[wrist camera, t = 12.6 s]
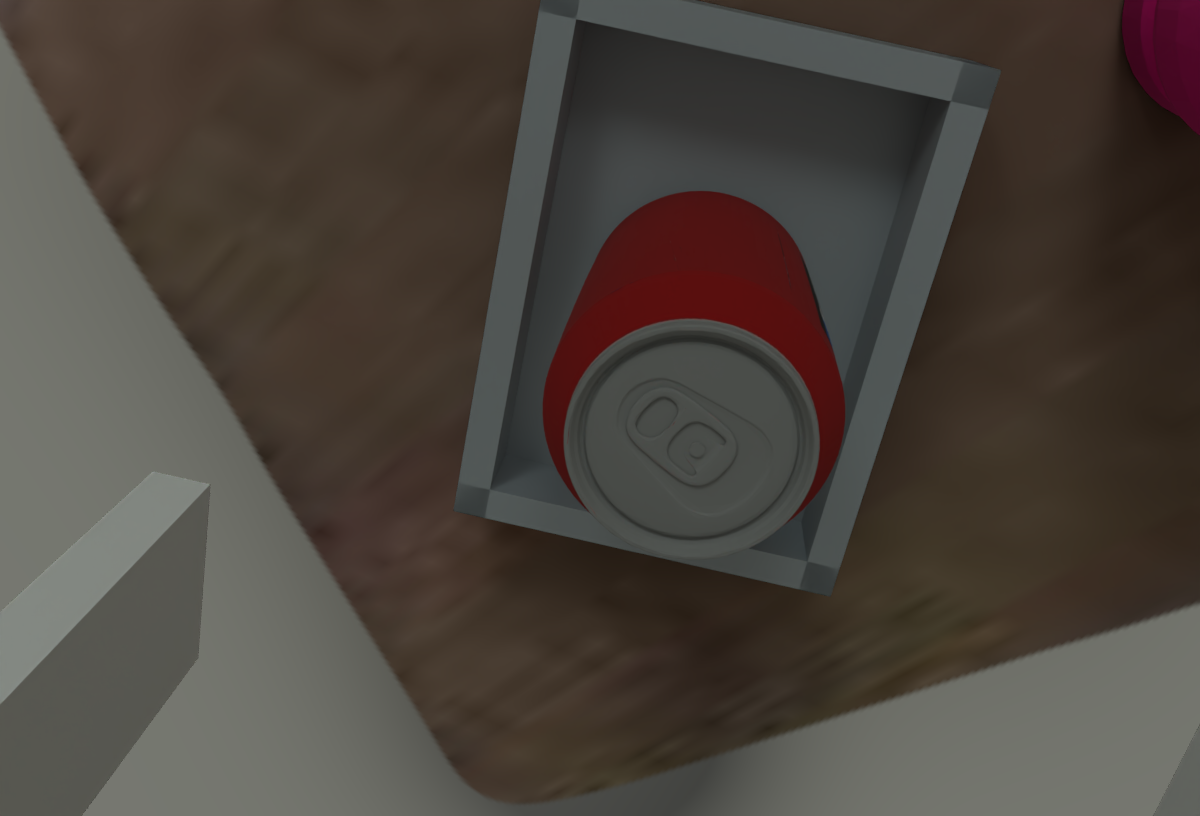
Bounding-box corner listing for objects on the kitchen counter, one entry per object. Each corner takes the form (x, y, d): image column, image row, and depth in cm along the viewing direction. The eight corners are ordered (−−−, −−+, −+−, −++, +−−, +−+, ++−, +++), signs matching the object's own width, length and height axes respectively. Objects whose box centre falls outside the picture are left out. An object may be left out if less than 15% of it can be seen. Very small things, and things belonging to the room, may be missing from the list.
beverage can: (710, 437, 36) (707, 644, 25) (545, 306, 35) (466, 461, 24) (857, 281, 34) (926, 433, 23) (686, 136, 33) (670, 220, 22)
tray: (562, -29, 32) (545, -30, 29) (972, 60, 32) (1001, 70, 29) (475, 465, 38) (453, 510, 35) (820, 543, 38) (830, 596, 35)
